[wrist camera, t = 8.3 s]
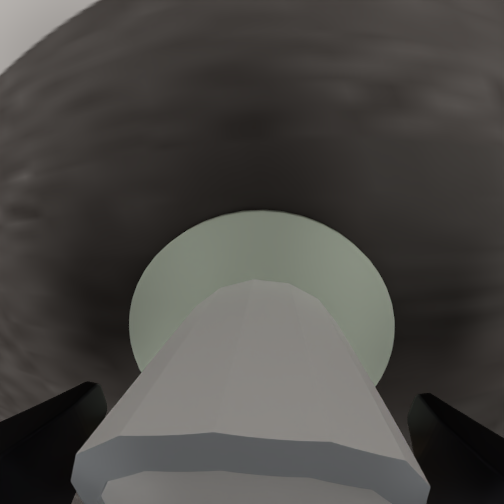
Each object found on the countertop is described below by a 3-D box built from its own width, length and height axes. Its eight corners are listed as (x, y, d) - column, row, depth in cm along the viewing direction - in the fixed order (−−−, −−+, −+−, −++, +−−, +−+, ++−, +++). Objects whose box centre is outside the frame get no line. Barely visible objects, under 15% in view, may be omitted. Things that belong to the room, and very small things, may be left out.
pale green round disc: (364, 428, 12) (366, 437, 12) (155, 421, 13) (151, 430, 12) (405, 214, 10) (413, 217, 9) (122, 210, 10) (114, 213, 10)
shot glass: (185, 421, 12) (139, 562, 5) (147, 267, 10) (3, 400, 3) (351, 414, 11) (385, 565, 4) (362, 251, 9) (491, 398, 3)
